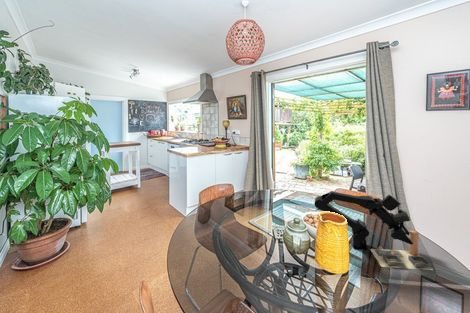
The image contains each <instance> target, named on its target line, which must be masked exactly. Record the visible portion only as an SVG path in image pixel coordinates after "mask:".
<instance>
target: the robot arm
mask: <svg viewBox="0 0 470 313" xmlns="http://www.w3.org/2000/svg"><path fill="white" fill-rule="evenodd" d="M332 201H339V202H344V203H348V204H352V205H357V206H359V207H361V208H363V209H366V210H368V214H369V216H372V215H375V216H376V217H377V218H378V219H379V220H380V221H381V223H382V224H384V225H386V226H387V228H388V229H389V230H390V237H391V238H392V239H393V240H398V241H401V242H403V243H406V244H408V245H409V244H411V245H412V244H413V242H412V241H411V240H410V239H409V231H410V230H408V228H406V226H405V224H404V223H405V222H410V221H411V218H410V216H409V214H408V212H407V211H405V210H402V209H401V208H400V209H397V208H398V207H399V206H401V205H402V203H401V202H400V201H399V200H398V199H397V198H395V197H394V196H392V195H391V194H387V195H386V197H384V198H383V199H382V200H381V199H380V198H374V197H372V196H371V195H352V194H348V193H343V192H336V191H333V190H331V191H329V192H327V193H323V194H322V195H318V196H316V197H315V198H314V207H315V208H316V209H317V210H320V211H322V212H325V211H330V212H335V213H338V214H340V215H343V216H344V217H345V218H346V219H347V222H348V225H347V226H349V227H350V228H351V233H352V234H351V242H350V244H351V246H352V248H353V249H354V250H358V251H359V250H360V251H362V250H363V251H364V250H365V251H366V250H367V246H368V245H367V244H368V243H367V239H366V238H367V237H369V235H370V231H369V228H368V225H367V224H366V222H364V221H363V220H361V219H360V218H357V220H356V219H353V218H352V217H350V216H349V215H347V214H346V213H344V212H343V211H341V210H339V209H338V208H336V207H334V206H333V205H331V204H330V203H331V202H332ZM395 209H397V212H396V213H395V214H393V213H392V211H394V210H395ZM389 211H390V212H389Z"/></svg>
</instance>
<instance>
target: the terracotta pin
mask: <svg viewBox="0 0 470 313" xmlns="http://www.w3.org/2000/svg"><path fill="white" fill-rule="evenodd" d="M408 231H409V235H408V238H409V239H410V240H411V241H412V242H413V244H412V245H411V244H408V251H409V254H411V255H413V256H418V254H419V232H418V230H417V231H416V230H413V229H412V230H408Z"/></svg>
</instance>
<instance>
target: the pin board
mask: <svg viewBox="0 0 470 313" xmlns="http://www.w3.org/2000/svg"><path fill="white" fill-rule="evenodd" d="M369 250H370V251H371V253H372V254H373V256H374V257H375V258H374V259H376V261H377V262H378V264H379V265H380V267H382V268H383V267H384V268H393V269H394V268H395V269H409V270H425V271H434V268H433V267H432V266H433V265H432V264H431V262H429V261H428V260H427V258H425V257H424V256H421V255H420V254H419V253H418V256H413V255H411V254H409V250H405V249H402V250H400V249H379V248H369Z"/></svg>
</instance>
